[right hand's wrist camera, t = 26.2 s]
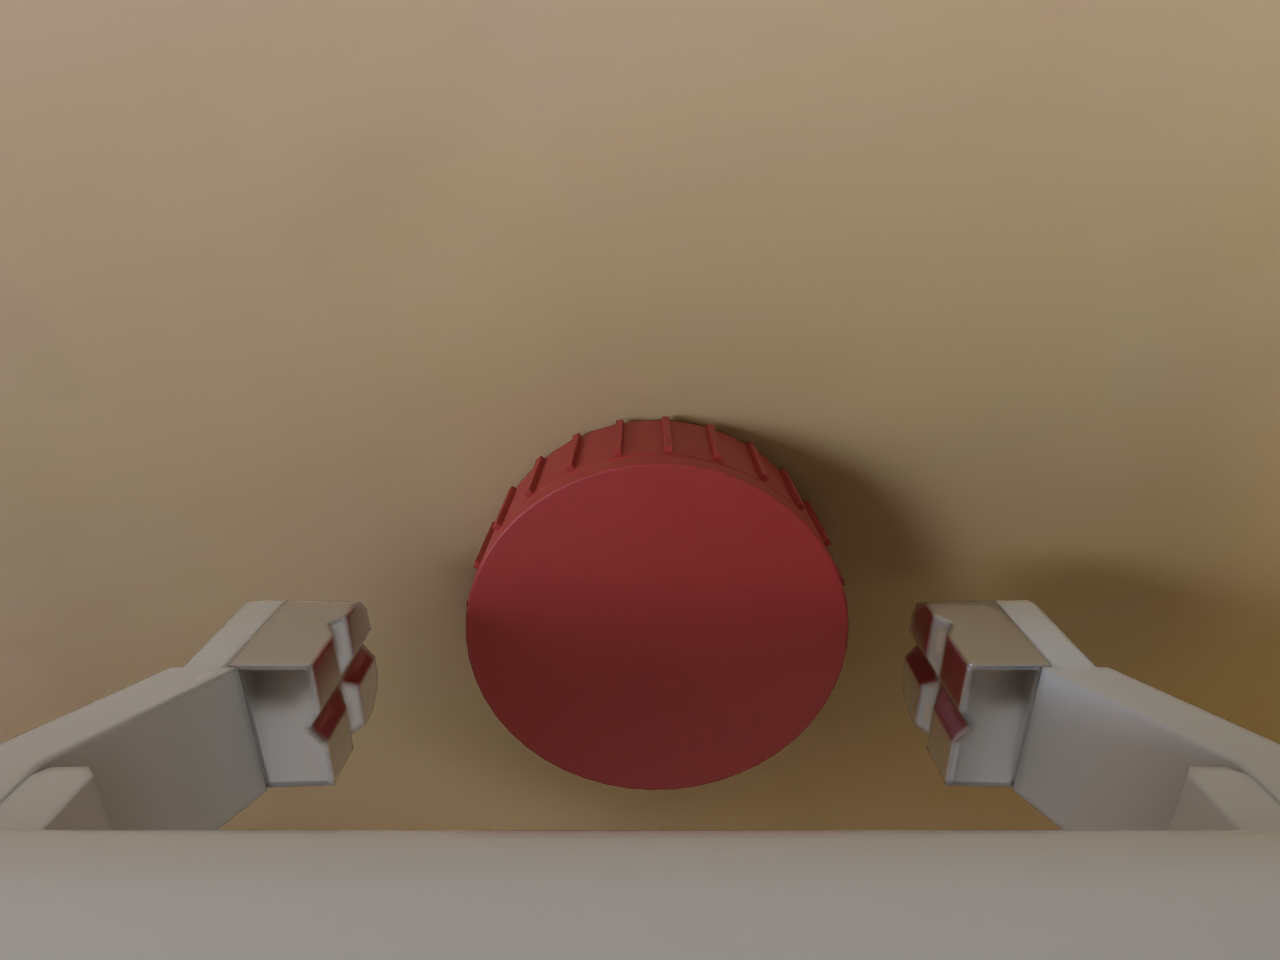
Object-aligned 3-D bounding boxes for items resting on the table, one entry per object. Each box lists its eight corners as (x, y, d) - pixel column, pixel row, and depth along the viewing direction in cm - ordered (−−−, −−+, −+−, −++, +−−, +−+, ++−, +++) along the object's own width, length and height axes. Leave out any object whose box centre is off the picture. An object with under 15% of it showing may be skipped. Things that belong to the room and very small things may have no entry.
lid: (674, 761, 14) (680, 849, 12) (421, 596, 13) (384, 667, 11) (892, 554, 12) (937, 618, 10) (627, 341, 11) (625, 371, 9)
